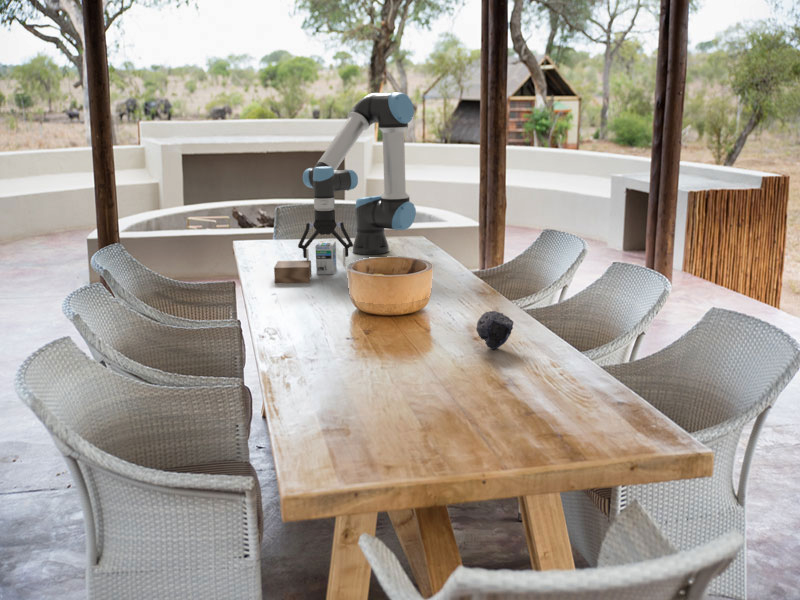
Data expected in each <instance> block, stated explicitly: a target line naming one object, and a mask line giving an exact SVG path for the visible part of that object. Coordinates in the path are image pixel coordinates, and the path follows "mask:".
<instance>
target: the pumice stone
mask: <svg viewBox="0 0 800 600" xmlns="http://www.w3.org/2000/svg"><path fill="white" fill-rule="evenodd" d="M513 325H514V321H513V320H512V319H511V318H510V317H509V316H507V315H505V314H504V313H503V312H499V311H495V310H492V311H491V310H490V311H486V312H484V313H483V314H481V316H480V318H479V319H478V320H477V323H476V327H475V329H476V332H477V334H478V337H479V338H480V339H481V340H482V341H484V343H485V345H486V348H489V349H492V350H496V349H499V348H500V347H501V346H503V345H504V344H505V343H506V342H507V340H508V339H509V337H510V336H511V334H512V330H513V329H514V328H513Z"/></svg>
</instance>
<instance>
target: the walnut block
mask: <svg viewBox="0 0 800 600" xmlns="http://www.w3.org/2000/svg"><path fill="white" fill-rule="evenodd" d="M275 263H276V264H275V266H274V267H273V270H274V271H273V272H274V284H275V283H286V284H310V282H311V279H312V261H311V259H309V260H307V259H306V260H277V262H275ZM310 278H311V279H310ZM309 281H310V282H309Z"/></svg>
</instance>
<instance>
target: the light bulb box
mask: <svg viewBox="0 0 800 600" xmlns="http://www.w3.org/2000/svg"><path fill="white" fill-rule="evenodd" d="M336 244H337V242H336V241H332V240H331V241H326V240H325V241H321V240H319V241H318V242H317V243H316V245H315V246H314V247H315V266H316V267H315V268H316V269H315V270H316V275H335V273H336V271H337V247H336V246H337V245H336Z"/></svg>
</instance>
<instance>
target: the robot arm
mask: <svg viewBox="0 0 800 600" xmlns="http://www.w3.org/2000/svg"><path fill="white" fill-rule="evenodd" d="M414 111H415V110H414V104H413V101H412V99H411V98H410V97H409V95H407V94H406V93H404V92H397V91H393V92H371V93H369V94H367V95H365V96H364V97H362V98H361V99H360V100H358V101H357V103H356V104H355V105H354V106H353V107H352V108H351V110H350V111H349V113H348V114H347V120H346V121H345V123H344V124H342V127H341V128H340V130H339V131H338V132H337V134H336V136H335V137H334V138H333V140H332V141H331V142H330V144H329V145H328V147H327V149H325V151H324V153H323V154H322V156H321V157H320V159H319V160H318V161H317V162H316V164H315V165H314V167H309V168H306V169H305V170H304V171H303V174H302V182H303V184H304V185H305V186H306V187H307V188H311V189H313V207H314V211H313V213H314V221H313V222H308V221H307V222H306V224H305V225H306V226H305V229H304V232H303V234H302V235H301V238H300V240H299V242H298V244H297V246H298V247H297V248H298V249H302V253H303V254H302V256H303V258H304V259H306V261H307V260H310V259H309V258H310V257H309V256H310V255H309V253H310V252H309V248H308V247H309V246H310V245H311V243H312V242H313V241H314V240H315V238H316V237H317V236H319V235H321V236H322V235H327V236H329V235H331V234H332V235H333V236H334V237H335V239H336V240H338V242H340V244H341V245H342V246H343V247H342V259H343V260H342V262H343V267H346V263H347V262H346V258H348V257H349V248H352V253H353V254H357V255H358V254H360V255H381V254H385V253H388V252H389V250H390V249H389V248H390V247H389V243H388V239H387V237H386V234H385V230H386V229H387V230H394V231H405V230H409V228H411V226H412V225H413V224H414V222H415V220H416V214H417V210H416V206H415V205H414V203H413V202H411V200H410V195H409V194H408V193H407V192H406V190H407V189H406V162H405V161H406V155H405V153H406V152H405V151H406V150H405V131H406V130H407V129H408V127H409V123H410V122H411V121H412V119H413V117H414V113H415V112H414ZM376 123H377V124H378V129H379V131H381V133H382V158H383V159H382V160H383V161H382V163H383V188H384V189H383V194H382V195H372V196H365V197H364V196H363V197H359V198H357V199H356V201H355V222H356V223H355V224H356V225H355V226H356V227H355V228H356V234H355V238H354V241H353V242H352V240H351V238H350V236H349V234H348V232H347V230H346V228H345V223H344V221H339V222H336V214H335V213H336V211H335V207H336V204H335V192H343V191H351V190H355V188H356V187H357V185H358V184H359V177H358V174H357V172H356V171H354V170H353V169H344V170H343V169H342V170H341V169H339V170H338V168H339V166H340V165H341V164H342V162H343V161H344V159H345V158H346V156H347V155H348V153H349V152H350V151H351V149H352V148H353V146H355V144H356V142H357V141H358V139H359V138H360V136H361V134H362V133H363V132H364V131H367V130H368V129H369V127H370V126H371V125H373V124H376ZM336 227H338V228H339V229H340V230H341V232H342V234H343V236H344V238H345V240H344V239H343V238H342V237H341V236H340V235H339V233H338V232H337V231H336ZM312 228H314V229H315V231H314V232H313V234H312V235H311V236H310V237H309V238H308V239H307V241H306V242H305V240H306V238H307V236H308V234H309V232H310V230H311V229H312ZM346 241H347V243H346ZM304 242H305V243H304Z"/></svg>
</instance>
